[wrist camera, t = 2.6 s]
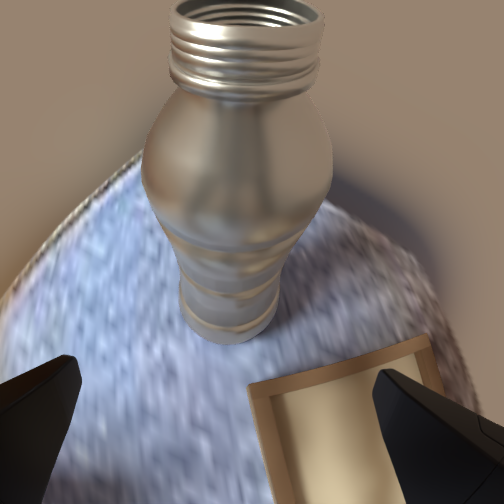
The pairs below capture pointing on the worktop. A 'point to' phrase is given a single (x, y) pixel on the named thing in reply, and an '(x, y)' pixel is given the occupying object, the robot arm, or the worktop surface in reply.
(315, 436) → the stand
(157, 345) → the worktop surface
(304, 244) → the worktop surface
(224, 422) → the worktop surface
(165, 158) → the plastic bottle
